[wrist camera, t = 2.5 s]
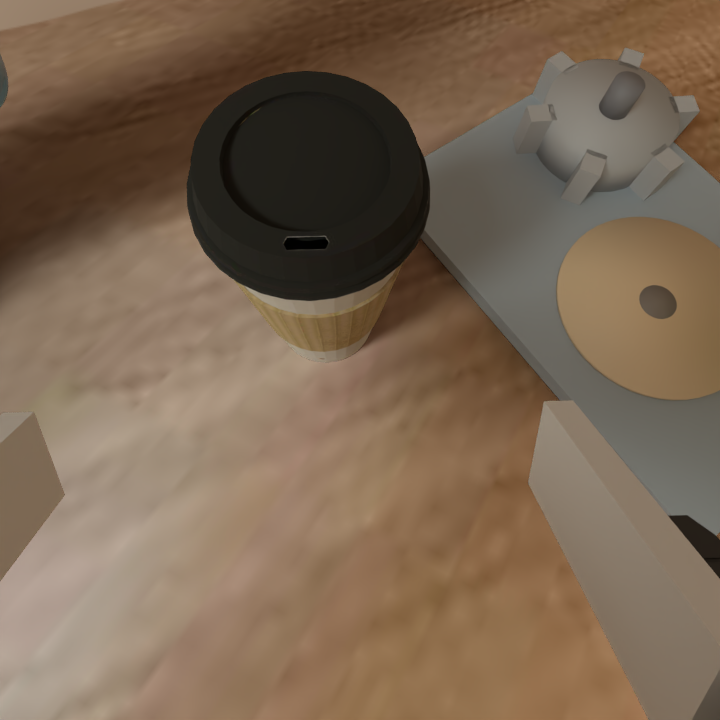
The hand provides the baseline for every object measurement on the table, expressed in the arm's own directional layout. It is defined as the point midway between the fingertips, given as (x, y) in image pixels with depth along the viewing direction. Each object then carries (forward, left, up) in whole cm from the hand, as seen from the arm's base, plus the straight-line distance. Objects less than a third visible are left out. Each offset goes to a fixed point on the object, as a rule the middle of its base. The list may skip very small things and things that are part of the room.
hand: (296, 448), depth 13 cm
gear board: (0, +25, -17) cm, 30 cm away
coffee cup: (-9, +6, -17) cm, 20 cm away
